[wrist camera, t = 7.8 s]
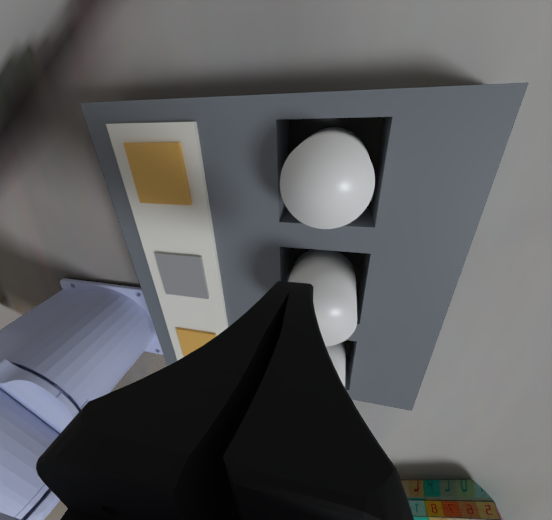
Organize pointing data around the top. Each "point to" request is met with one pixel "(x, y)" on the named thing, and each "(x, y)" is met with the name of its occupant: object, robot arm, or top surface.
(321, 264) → the button middle
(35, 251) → the top surface
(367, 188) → the button
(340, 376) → the button
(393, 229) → the board
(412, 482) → the puzzle game
